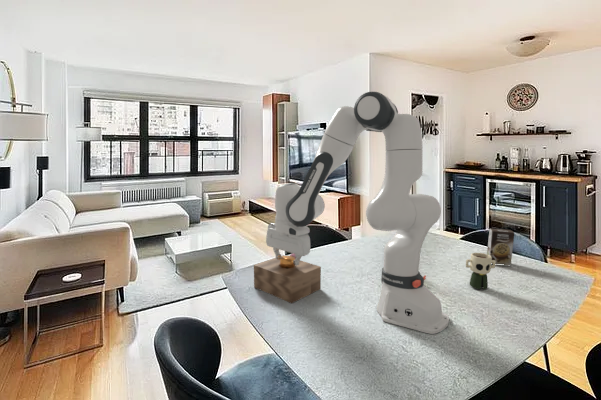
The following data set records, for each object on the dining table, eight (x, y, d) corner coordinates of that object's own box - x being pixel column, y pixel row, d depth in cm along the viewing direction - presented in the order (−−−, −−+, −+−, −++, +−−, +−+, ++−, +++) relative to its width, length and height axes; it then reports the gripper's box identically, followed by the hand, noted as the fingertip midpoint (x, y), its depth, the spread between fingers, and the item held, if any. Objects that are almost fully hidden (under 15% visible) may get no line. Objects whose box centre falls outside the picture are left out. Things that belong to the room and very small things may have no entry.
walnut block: (320, 289, 130) (320, 266, 128) (291, 303, 118) (291, 278, 117) (283, 275, 143) (283, 255, 142) (254, 287, 131) (253, 264, 130)
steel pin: (297, 286, 131) (297, 258, 129) (287, 291, 127) (287, 261, 125) (287, 282, 135) (287, 254, 133) (277, 287, 130) (276, 258, 129)
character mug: (467, 290, 129) (470, 257, 127) (460, 283, 136) (462, 252, 134) (497, 291, 128) (500, 258, 126) (488, 284, 135) (491, 252, 133)
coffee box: (488, 264, 157) (492, 231, 155) (485, 260, 164) (488, 227, 161) (511, 267, 155) (515, 232, 152) (507, 262, 161) (510, 229, 158)
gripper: (262, 223, 131) (262, 257, 134) (301, 232, 118) (301, 270, 120) (274, 220, 136) (274, 254, 138) (313, 229, 122) (312, 266, 125)
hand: (287, 261), depth 129 cm, fingers open, 8 cm apart
